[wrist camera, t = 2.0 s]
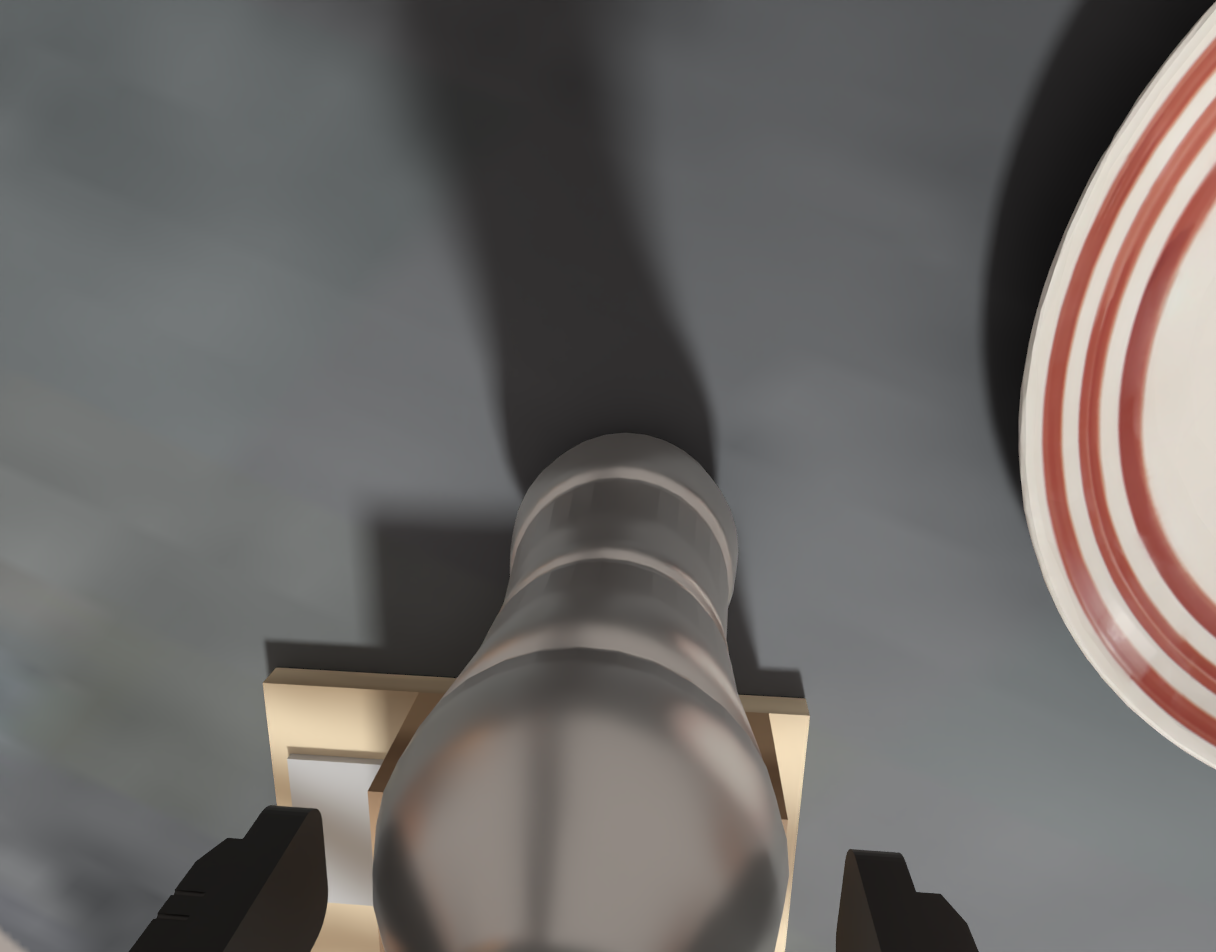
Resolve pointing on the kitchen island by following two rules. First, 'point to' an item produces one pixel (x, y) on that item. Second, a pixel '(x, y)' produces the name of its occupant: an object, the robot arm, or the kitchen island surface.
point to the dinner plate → (1136, 407)
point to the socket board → (372, 745)
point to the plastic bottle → (593, 738)
